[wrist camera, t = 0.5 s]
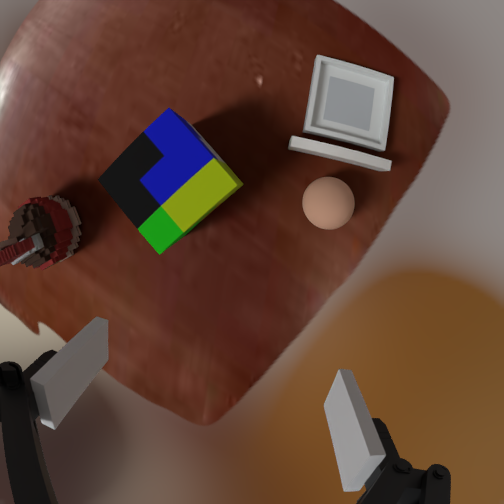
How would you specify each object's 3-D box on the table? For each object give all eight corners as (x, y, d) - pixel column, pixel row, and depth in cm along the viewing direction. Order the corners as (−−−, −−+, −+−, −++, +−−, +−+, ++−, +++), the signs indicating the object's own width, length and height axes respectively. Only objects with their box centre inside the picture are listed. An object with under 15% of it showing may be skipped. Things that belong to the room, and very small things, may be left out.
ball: (304, 172, 37) (312, 170, 31) (350, 182, 37) (366, 183, 31) (295, 220, 38) (301, 227, 32) (341, 229, 38) (354, 238, 32)
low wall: (289, 139, 36) (292, 135, 33) (381, 162, 36) (391, 160, 33) (287, 149, 36) (290, 146, 33) (379, 171, 36) (389, 170, 33)
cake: (73, 182, 38) (-20, 191, 20) (96, 243, 40) (11, 282, 22) (27, 213, 39) (-58, 235, 21) (48, 268, 41) (-32, 309, 23)
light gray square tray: (314, 59, 33) (317, 54, 32) (388, 81, 34) (394, 77, 32) (302, 132, 36) (304, 129, 34) (379, 151, 36) (385, 150, 34)
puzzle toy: (191, 125, 36) (169, 107, 26) (243, 184, 38) (237, 185, 28) (135, 178, 38) (97, 179, 28) (183, 236, 39) (159, 254, 29)
